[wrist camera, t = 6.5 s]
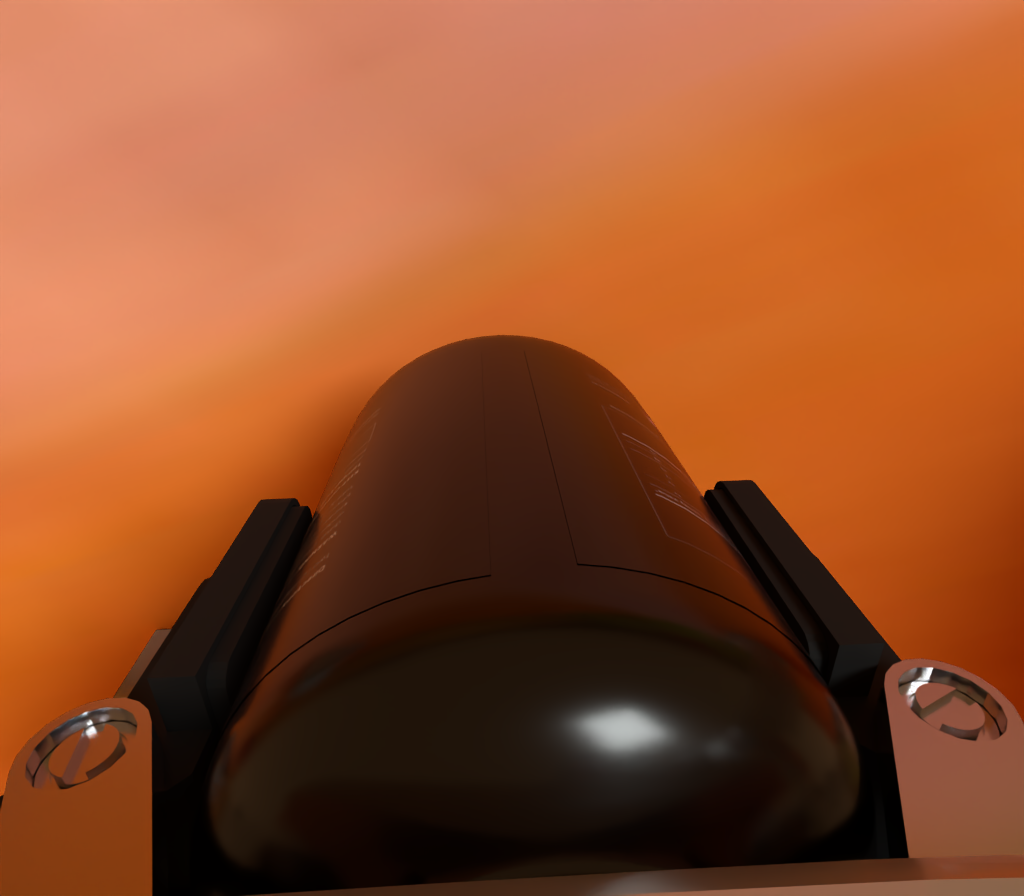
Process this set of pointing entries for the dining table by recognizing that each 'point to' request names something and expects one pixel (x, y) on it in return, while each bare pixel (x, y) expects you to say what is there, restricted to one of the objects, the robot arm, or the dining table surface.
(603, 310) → the dining table surface
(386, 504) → the supplement bottle
